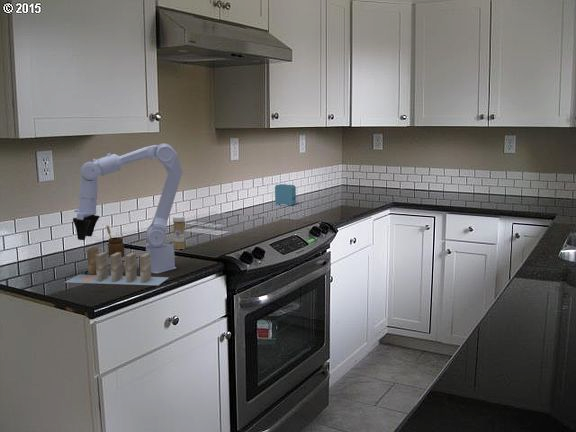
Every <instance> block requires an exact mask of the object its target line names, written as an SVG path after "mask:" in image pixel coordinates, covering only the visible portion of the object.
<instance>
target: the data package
mask: <svg viewBox="0 0 576 432" xmlns="http://www.w3.org/2000/svg"><path fill="white" fill-rule="evenodd" d="M296 189H297V188H296V185H295V184H283V183H280V184H276V185H275V186H274V204H275V205H277V204H286V205H292V206H295V205H296V203H297V196H296V193H297V190H296ZM294 204H295V205H294Z"/></svg>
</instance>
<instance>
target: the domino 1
mask: <svg viewBox="0 0 576 432" xmlns="http://www.w3.org/2000/svg"><path fill="white" fill-rule="evenodd" d="M86 252H87V255H86V256H87V268H88V269H87V270H88V275H95V274H97V272H96V255H97V254H99V253H100V252H99V247H97V246H96V247H94V246H93V247H92V248H90V249H88V250H86Z"/></svg>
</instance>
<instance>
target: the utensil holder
mask: <svg viewBox="0 0 576 432" xmlns="http://www.w3.org/2000/svg"><path fill="white" fill-rule="evenodd" d="M106 230H107V233H108V235H109V238H108V245H107V250H108V252H107V254H108V257H109V258H110V255H113V254H115V253H117V252H120V253H121V256H123V257H125V244H124V238H123V236H122V233H123V230H122V228H118V230H117V231H118V232H117V231H116V233H115V234H116V237H115V236H113V237H112V236H111V234H112V233H111V229H110V226H109V225H106ZM119 230H120V234H119V236H118V233H119Z"/></svg>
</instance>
